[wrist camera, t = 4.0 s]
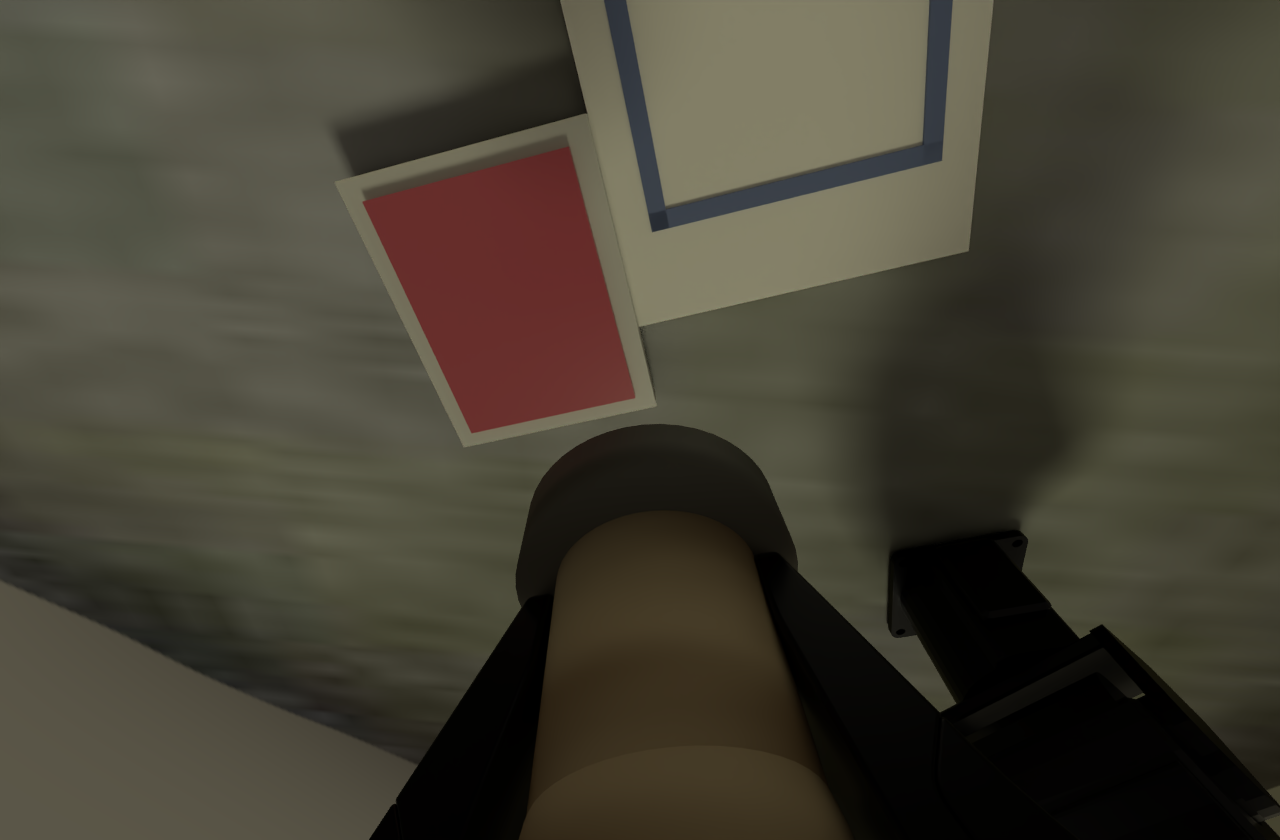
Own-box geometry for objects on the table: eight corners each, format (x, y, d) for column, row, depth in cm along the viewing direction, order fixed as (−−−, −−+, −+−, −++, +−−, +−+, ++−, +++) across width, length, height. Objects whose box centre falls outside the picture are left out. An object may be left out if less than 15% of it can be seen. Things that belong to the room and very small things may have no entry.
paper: (963, 249, 18) (970, 251, 18) (638, 324, 19) (638, 327, 19) (1038, -552, 10) (1054, -577, 10) (477, -345, 11) (472, -360, 11)
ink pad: (655, 392, 20) (657, 410, 19) (472, 431, 21) (461, 451, 20) (588, 114, 16) (584, 113, 14) (352, 178, 16) (329, 182, 15)
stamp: (782, 587, 11) (1005, 1206, 5) (568, 625, 12) (512, 1247, 5) (763, 398, 9) (1181, 1176, 2) (490, 455, 9) (189, 1265, 3)
